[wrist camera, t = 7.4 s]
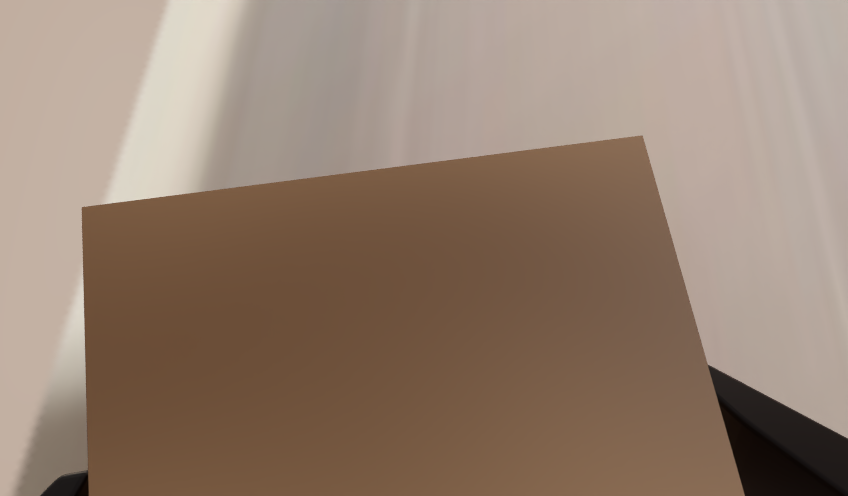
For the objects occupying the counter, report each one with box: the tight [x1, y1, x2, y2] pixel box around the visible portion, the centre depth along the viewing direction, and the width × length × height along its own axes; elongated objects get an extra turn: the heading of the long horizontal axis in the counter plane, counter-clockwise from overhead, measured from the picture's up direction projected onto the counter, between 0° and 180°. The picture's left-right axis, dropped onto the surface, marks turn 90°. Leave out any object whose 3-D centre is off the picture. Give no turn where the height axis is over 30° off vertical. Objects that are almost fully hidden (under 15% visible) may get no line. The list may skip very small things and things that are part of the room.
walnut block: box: [82, 136, 745, 496], centre depth 10 cm, size 5×5×12 cm
